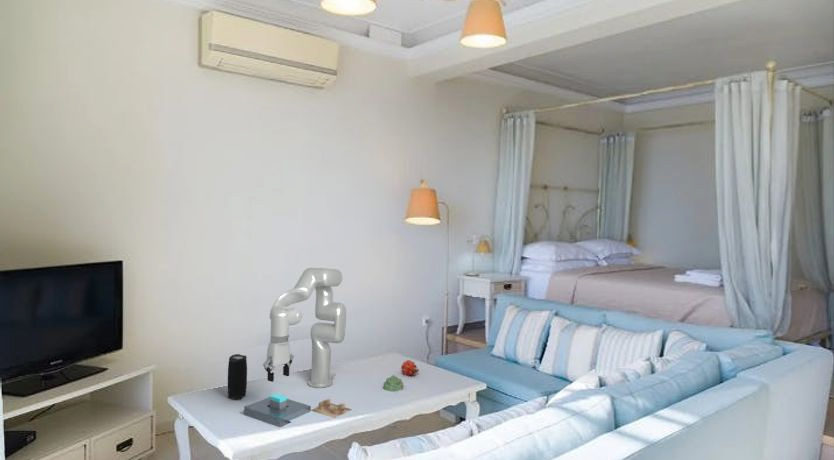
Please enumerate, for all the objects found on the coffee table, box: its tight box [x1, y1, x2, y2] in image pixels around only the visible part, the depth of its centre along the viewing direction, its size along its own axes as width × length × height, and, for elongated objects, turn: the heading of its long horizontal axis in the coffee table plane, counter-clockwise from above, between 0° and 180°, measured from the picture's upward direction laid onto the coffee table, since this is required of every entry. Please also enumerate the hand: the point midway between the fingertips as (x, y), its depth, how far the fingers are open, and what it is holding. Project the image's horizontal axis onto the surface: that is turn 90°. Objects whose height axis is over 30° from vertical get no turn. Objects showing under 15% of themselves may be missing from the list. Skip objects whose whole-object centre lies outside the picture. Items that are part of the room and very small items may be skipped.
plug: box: [269, 393, 288, 410], centre depth 238 cm, size 4×6×8 cm, turn 58°
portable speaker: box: [227, 353, 248, 401], centre depth 256 cm, size 9×9×20 cm
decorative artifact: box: [383, 374, 404, 392], centre depth 278 cm, size 10×7×10 cm
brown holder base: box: [311, 398, 353, 419], centre depth 243 cm, size 12×14×4 cm
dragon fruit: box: [400, 359, 420, 378], centre depth 299 cm, size 8×8×12 cm
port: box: [243, 396, 312, 428], centre depth 238 cm, size 18×22×4 cm
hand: (278, 378), depth 238 cm, fingers open, 8 cm apart
